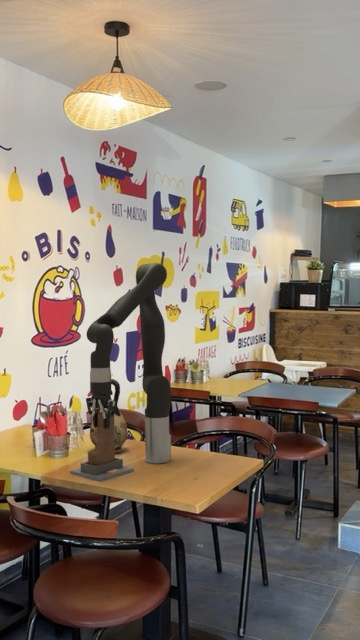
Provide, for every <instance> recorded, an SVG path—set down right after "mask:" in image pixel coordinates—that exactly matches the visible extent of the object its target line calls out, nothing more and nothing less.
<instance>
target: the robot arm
mask: <svg viewBox="0 0 360 640" xmlns="http://www.w3.org/2000/svg"><path fill="white" fill-rule="evenodd" d="M167 278H168V271H167V268H166V267H165V266H164V265H163V264H161V263H158V262H152V263H151V262H150V263H143V264H141V265H139V266H138V268H137V269H136V272H135V283H136V285H135V286H134V287H133V288H131V289H130V290H129V291H127V292H126V293H125V294H123V295H122V296H120V297H119V298H118V299H117V300H116V301H115V302H114V303H113V304H112V305H111V306H110V307H109V309H108V310H107V311H106V312H105V313H104V314H102V315H101V316H99V318H98V317H97V319H96V320H95V321H93V322H92V323H91V324H90V326H89V327H88V328H87V330H86V338H87V340H88V341H89V342H90V343H92V344H95V350H94V351H92V352H91V353H90V357H89V358H90V360H89V361H90V372H89V392H90V394H91V397H86V398H85V402H86V407H87V412H88V415H91V417H92V419H93V425H94V427H98V421H97V413H98V412H100V410H101V412H102V413H103V417H104V419H103V428H104V429H108V428H109V427H110V417H112V416H114V413H115V408H116V403H117V402H116V400H114V401H113V399H112V397H111V398H110V393H111V390H112V384H111V379H112V370H111V369H112V368H111V354H112V350H113V346H114V339H115V337H114V329H115V328H118V327H120V326H121V325H122V324H123V323H124V322H125V321H126V320H127V319H128V317H129V316H130V315H131V314H132V313H133V312H134V311H135V310H136V309H137V308H138V307H139V317H140V318H139V319H140V323H139V324H140V341H141V352H142V360H143V361H142V362H143V363H142V366H143V367H142V368H143V369H142V381H141V382H142V383H141V384H142V389H143V390H142V391H143V392H144V393H145V394H146V407H145V409H144V445H145V447H144V448H145V449H144V453H145V455H144V456H145V462H146V463H149V464H165V463H168V462H170V460H172V435H171V434H170V410H171V402H172V401H171V395H172V393H171V392H172V391H171V384H170V383H171V382H170V381H169V379H168V377H166V376H164V373H163V365H162V361H163V360H162V359H163V358H162V357H163V353H164V348H165V343H166V330H165V329H166V328H165V327H166V326H165V325H166V324H165V320H164V317H163V315H162V312H161V311H160V308H159V306H158V304H157V299H156V290H158V289H159V288H160V287H162V286H163V285H164V283H165V282H166V281H167ZM111 399H112V400H111ZM117 404H118V403H117ZM105 408H107V409H105ZM106 412H107V415H106Z"/></svg>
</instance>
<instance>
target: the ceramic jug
mask: <svg viewBox="0 0 360 640" xmlns="http://www.w3.org/2000/svg"><path fill="white" fill-rule="evenodd" d="M111 385H113V386H114V394H113V390H112V389H111V393H110V398H111V400H113V401H114V400H116V402H117V403H116V408H115V413H114V435H115V454H116V453H120V452H121V451H122V446H123V445H124V444H125V443H126V441H127V438H128V432H129V431H128V426H127V422H126V420H125V418H124V415H123V414H122V413H121V411H120V409H119V406H118V402H119V398H120V393H121V385H120V382H119V381H118V380H116V379H114V378H111ZM112 396H113V399H112ZM105 409H107V408H105ZM100 412H101V410H100ZM89 439H90V442H91V443H92V444H93V445H94V448H95V447H96V446H97V441H98V427H94V425H93V418H92V419H91V422H90V428H89Z"/></svg>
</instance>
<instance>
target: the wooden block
mask: <svg viewBox="0 0 360 640" xmlns="http://www.w3.org/2000/svg"><path fill="white" fill-rule="evenodd" d="M106 415H107V412H106ZM103 419H104V417H103V413H102V412H98V413H97V421H98V441H97V446H96V447H95V446H94V449H92V450H89V451H88V452H87V461H88V464H90V465H94V466H98V465H101V464H105V463H108V462H112V461H115V458H116V455H115V454H116V453H115V435H114V416H112V417H110V427H109V428H108V429H104V428H103Z"/></svg>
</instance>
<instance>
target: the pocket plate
mask: <svg viewBox="0 0 360 640" xmlns="http://www.w3.org/2000/svg"><path fill="white" fill-rule="evenodd" d="M123 460H124V459H123V458H119V457H115V461H112V462H108V463H105V464H101V465H98V466H94V465H90V464H88V460H87V461H84V462H81V463H80V467H79V468H75V469H71V470H69V474H70V475H74V476H79V477H82V478H86V479H89V480H93V481H97V482H103V481H107V480H111V479H114V478H117V477H120V476H123V475H126V474H129V473H130V474H131V473H133V472H134V471H135V470H134V468H133V467H129V466H124V462H123Z"/></svg>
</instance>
